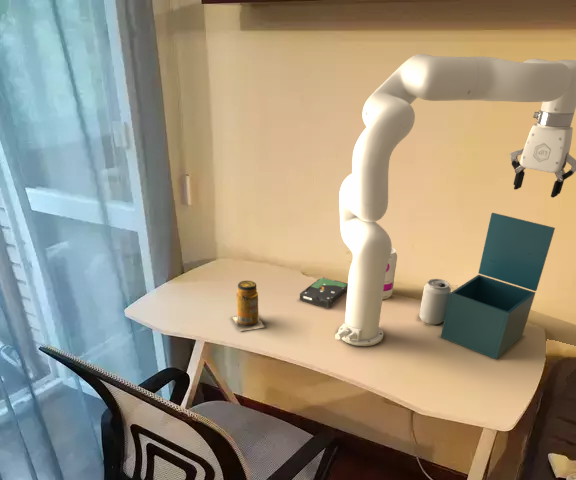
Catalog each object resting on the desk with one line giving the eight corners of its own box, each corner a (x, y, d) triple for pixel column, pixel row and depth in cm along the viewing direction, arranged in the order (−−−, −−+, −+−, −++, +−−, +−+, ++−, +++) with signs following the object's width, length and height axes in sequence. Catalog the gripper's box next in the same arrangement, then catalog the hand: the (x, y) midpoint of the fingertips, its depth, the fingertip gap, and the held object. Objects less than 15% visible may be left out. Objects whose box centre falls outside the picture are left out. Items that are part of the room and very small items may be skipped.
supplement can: (385, 302, 170) (391, 257, 161) (361, 296, 173) (366, 251, 165) (395, 293, 175) (402, 248, 167) (372, 286, 179) (377, 243, 170)
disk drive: (328, 309, 166) (349, 290, 176) (329, 301, 164) (349, 283, 174) (299, 301, 170) (320, 283, 180) (299, 293, 168) (321, 275, 179)
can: (444, 327, 158) (452, 289, 151) (418, 324, 159) (425, 287, 152) (444, 315, 164) (451, 278, 157) (418, 312, 165) (425, 276, 158)
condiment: (256, 314, 162) (255, 277, 155) (264, 327, 156) (264, 289, 149) (232, 318, 160) (230, 280, 153) (240, 331, 154) (238, 293, 147)
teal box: (496, 359, 144) (509, 313, 136) (440, 337, 153) (449, 293, 145) (522, 336, 154) (535, 292, 146) (468, 317, 163) (478, 274, 155)
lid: (554, 228, 135) (564, 221, 139) (491, 213, 144) (502, 206, 148) (535, 291, 145) (545, 282, 149) (478, 273, 154) (488, 265, 158)
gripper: (513, 117, 133) (497, 188, 143) (586, 127, 123) (563, 202, 133) (526, 113, 137) (509, 182, 147) (597, 122, 128) (574, 196, 138)
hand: (535, 192), depth 140 cm, fingers open, 9 cm apart
